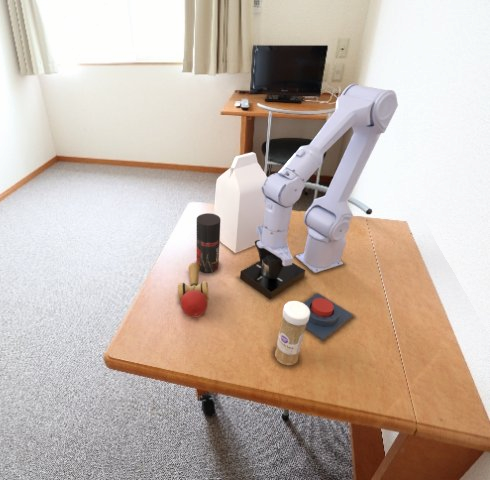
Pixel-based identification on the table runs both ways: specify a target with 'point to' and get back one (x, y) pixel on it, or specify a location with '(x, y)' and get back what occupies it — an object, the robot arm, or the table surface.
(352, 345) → the table surface
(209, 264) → the deodorant
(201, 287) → the kendama
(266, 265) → the dial
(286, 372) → the table surface
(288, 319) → the sprinkles bottle
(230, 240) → the milk
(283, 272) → the hob panel
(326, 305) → the push knob
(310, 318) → the button base
